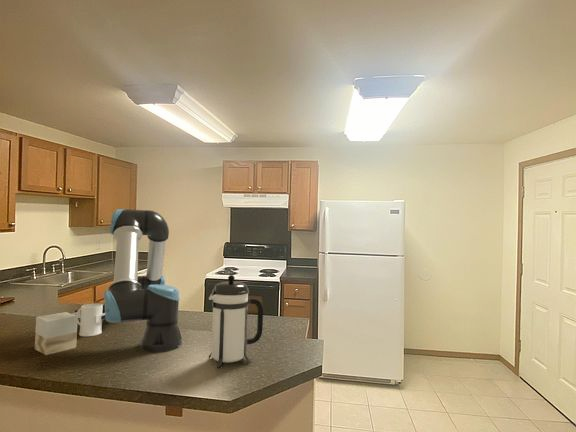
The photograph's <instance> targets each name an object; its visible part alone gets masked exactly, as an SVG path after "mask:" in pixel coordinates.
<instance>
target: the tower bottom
mask: <svg viewBox="0 0 576 432" xmlns="http://www.w3.org/2000/svg"><path fill="white" fill-rule="evenodd" d="M34 333H35V332H34ZM34 337H35V339H34V350H36V351H38V352H40V353H41V354H42V355H45V356H48V355H52V354H55V353H60V352H63V351H67V350H72V349H75V348H77V343H78V342H77V340H78V339H77V337H78V331H77V332H75V333H70V334H65V335H61V336H56V337H51V338H44V337H42V336H40V335H38V334H36V333H35V336H34Z"/></svg>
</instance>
